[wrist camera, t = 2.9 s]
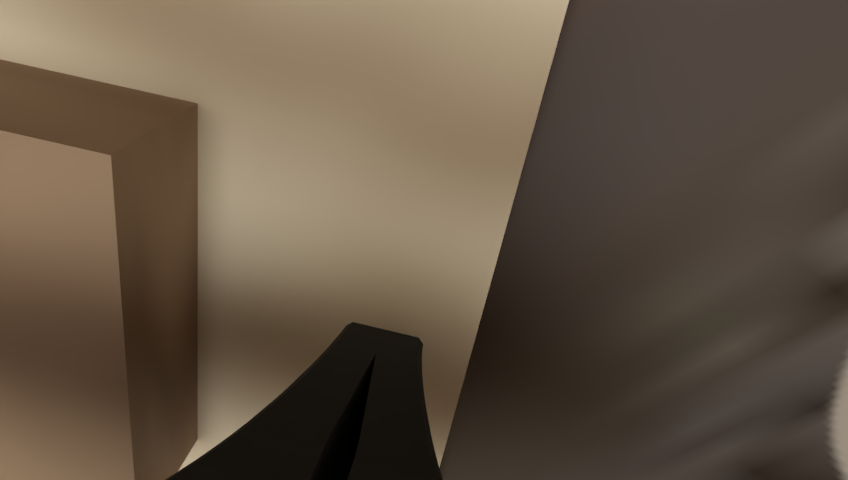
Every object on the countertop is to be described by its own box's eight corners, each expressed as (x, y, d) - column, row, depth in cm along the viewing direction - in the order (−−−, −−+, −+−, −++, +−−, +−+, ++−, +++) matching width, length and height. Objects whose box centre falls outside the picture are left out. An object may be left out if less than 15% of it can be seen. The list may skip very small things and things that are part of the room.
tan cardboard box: (197, 439, 14) (138, 535, 12) (-10, 388, 14) (-105, 473, 12) (198, 103, 10) (111, 155, 8) (-85, 39, 11) (-242, 75, 8)
